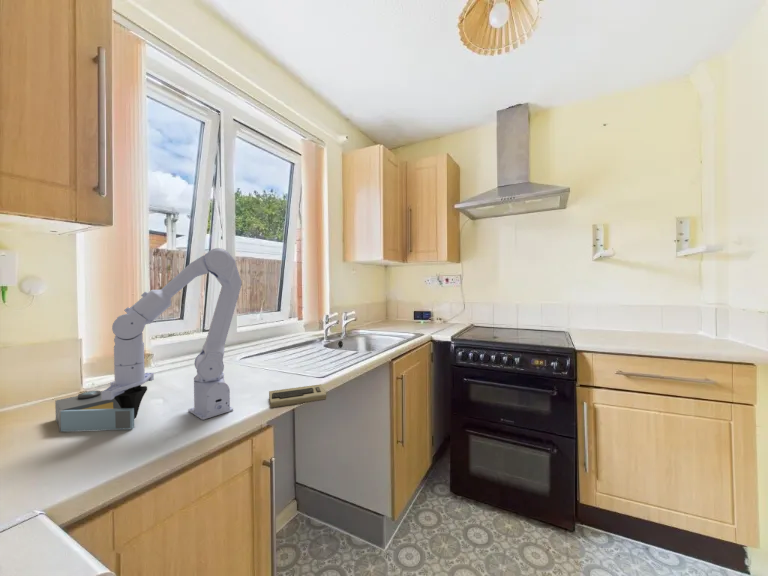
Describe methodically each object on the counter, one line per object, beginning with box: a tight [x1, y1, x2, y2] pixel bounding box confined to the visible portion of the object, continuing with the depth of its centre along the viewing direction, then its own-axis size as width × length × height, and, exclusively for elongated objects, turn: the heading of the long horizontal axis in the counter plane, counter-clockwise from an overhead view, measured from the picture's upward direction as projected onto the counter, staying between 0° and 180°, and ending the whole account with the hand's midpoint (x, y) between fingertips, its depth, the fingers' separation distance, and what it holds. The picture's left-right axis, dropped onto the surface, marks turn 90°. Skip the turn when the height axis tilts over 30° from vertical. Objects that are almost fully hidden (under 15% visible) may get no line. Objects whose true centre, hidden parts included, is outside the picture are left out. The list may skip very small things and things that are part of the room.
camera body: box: [54, 390, 121, 426], centre depth 82 cm, size 10×12×6 cm
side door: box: [58, 408, 135, 433], centre depth 75 cm, size 16×1×5 cm, turn 94°
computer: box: [268, 383, 327, 409], centre depth 94 cm, size 16×8×3 cm, turn 113°
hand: (130, 418), depth 77 cm, fingers closed
